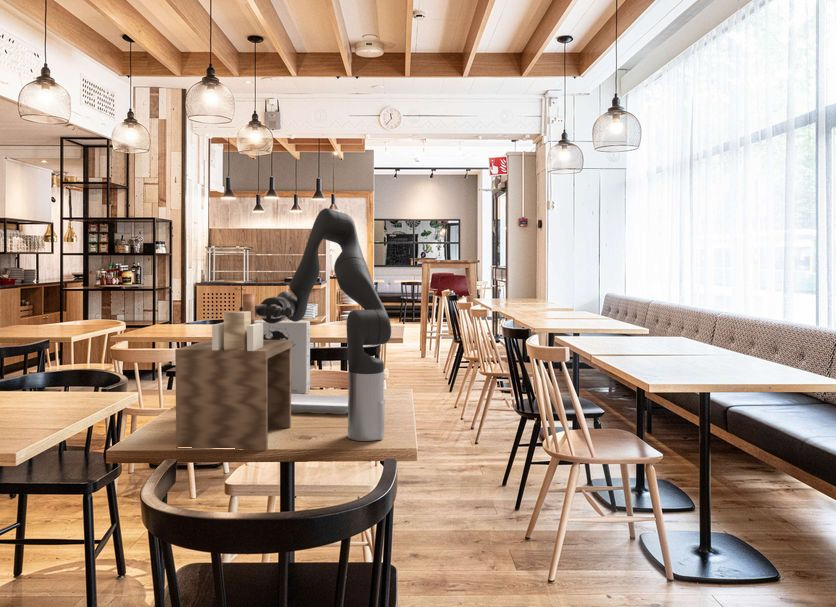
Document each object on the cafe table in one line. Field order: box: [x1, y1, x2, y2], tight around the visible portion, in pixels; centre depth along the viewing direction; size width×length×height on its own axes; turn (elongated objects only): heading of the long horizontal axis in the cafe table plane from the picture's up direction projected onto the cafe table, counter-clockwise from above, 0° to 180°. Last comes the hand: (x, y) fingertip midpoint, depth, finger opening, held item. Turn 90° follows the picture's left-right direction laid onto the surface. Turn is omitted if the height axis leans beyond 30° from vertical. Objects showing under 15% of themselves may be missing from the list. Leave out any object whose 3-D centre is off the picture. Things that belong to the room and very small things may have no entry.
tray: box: [291, 393, 348, 415], centre depth 203 cm, size 17×32×4 cm, turn 83°
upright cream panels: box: [211, 321, 263, 351], centre depth 159 cm, size 10×8×6 cm
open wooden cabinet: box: [174, 338, 292, 452], centre depth 168 cm, size 22×24×24 cm
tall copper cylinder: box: [223, 293, 256, 350], centre depth 162 cm, size 5×12×13 cm, turn 177°
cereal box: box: [255, 319, 311, 394], centre depth 229 cm, size 22×8×25 cm, turn 91°
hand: (259, 313), depth 176 cm, fingers open, 8 cm apart
